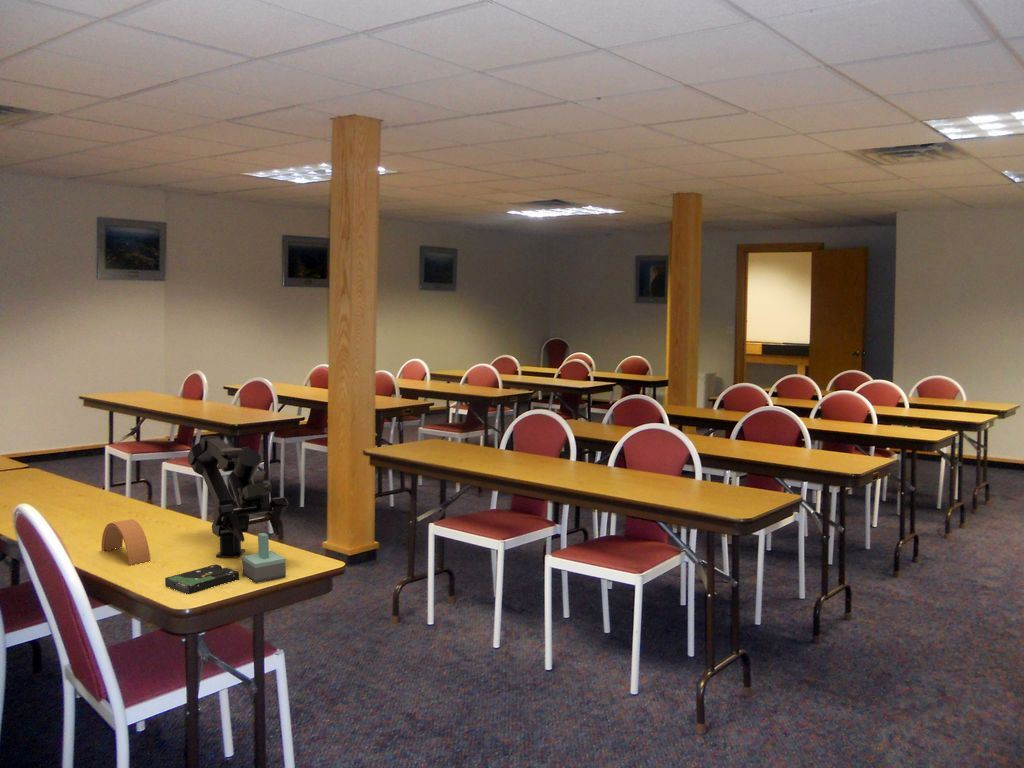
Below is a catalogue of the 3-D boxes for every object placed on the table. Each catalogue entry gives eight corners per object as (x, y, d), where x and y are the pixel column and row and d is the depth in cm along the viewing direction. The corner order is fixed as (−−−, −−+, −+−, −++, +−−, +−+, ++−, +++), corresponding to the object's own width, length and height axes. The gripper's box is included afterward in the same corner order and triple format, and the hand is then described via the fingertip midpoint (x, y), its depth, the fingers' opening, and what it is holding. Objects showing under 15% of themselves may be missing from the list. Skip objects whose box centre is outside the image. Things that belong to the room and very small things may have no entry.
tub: (242, 574, 227) (242, 559, 227) (272, 568, 232) (271, 554, 232) (255, 583, 220) (255, 568, 220) (285, 577, 225) (285, 562, 225)
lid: (242, 562, 227) (241, 533, 226) (271, 557, 232) (271, 528, 231) (255, 571, 220) (254, 540, 219) (285, 565, 225) (284, 535, 224)
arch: (128, 566, 234) (127, 530, 233) (101, 551, 248) (100, 517, 248) (150, 562, 238) (149, 526, 237) (122, 547, 253) (121, 513, 252)
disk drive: (215, 574, 230) (164, 588, 218) (215, 563, 229) (164, 577, 217) (240, 582, 223) (188, 596, 212) (240, 571, 223) (188, 585, 211)
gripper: (215, 475, 224) (232, 526, 216) (284, 467, 235) (303, 515, 227) (206, 500, 231) (222, 550, 223) (274, 491, 242) (291, 538, 234)
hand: (260, 537), depth 227 cm, fingers open, 9 cm apart
